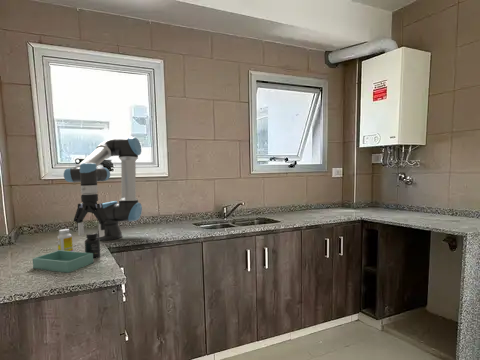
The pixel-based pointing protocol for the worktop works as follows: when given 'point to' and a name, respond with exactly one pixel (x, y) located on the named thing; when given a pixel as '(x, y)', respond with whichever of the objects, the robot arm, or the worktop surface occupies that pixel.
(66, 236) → the supplement bottle
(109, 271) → the worktop surface
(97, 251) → the supplement bottle
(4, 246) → the worktop surface
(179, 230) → the worktop surface
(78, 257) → the green tray
